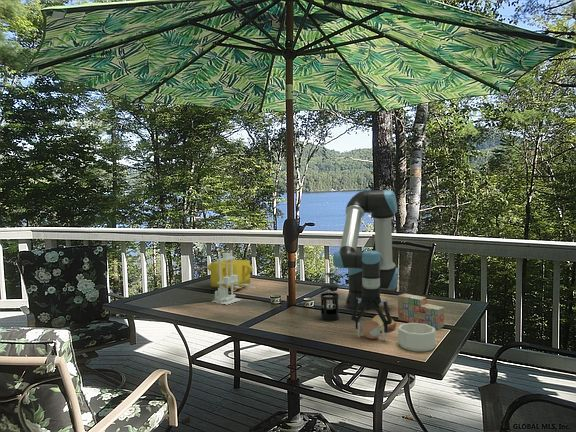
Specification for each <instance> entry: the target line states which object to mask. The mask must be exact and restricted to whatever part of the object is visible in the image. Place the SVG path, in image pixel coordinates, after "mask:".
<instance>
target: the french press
mask: <svg viewBox="0 0 576 432" xmlns="http://www.w3.org/2000/svg"><path fill="white" fill-rule="evenodd" d="M324 275H326V276H327V277H328V283H322V284H320V287H321V291H322V290H323V289H328V292H323V293H321V294H320V300H321V303H320V304H321V311H320V320H322V321H324V322H336V321H338V320H340V316H339V314H340V311H339V293H337V292H336V291H338V287H339V284H337V283H332V282H331V281H330V280H331V276H332V275H334V273H332V272H326V273H324ZM330 300H331V301H332V302H331V301H330ZM327 301H328V302H327Z"/></svg>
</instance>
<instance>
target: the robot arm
mask: <svg viewBox="0 0 576 432" xmlns="http://www.w3.org/2000/svg"><path fill="white" fill-rule="evenodd" d="M397 213H398V204H397V198H396V194H395V191H393V190H386V189H382V190H381V189H380V190H379V189H378V190H377V189H376V190H374V189H373V190H362V191H359V192H357V193H356V194H355V195H353V196H352V197H351V198H350V199H349V201H348V202H347V205H346V207H345V215H346V217H345V222H344V228H343V233H342V237H341V241H340V248H339V250H338V251H334V252H333V257H332V262H333V266H334V267H335V268H340V269H348V274H347V277H348V293H347V297H346V300H345V307H346V308H348V309H349V310H352V315H351V321H354V322H355V329H356V330H357V338H360V337H362V321H361V318H362V316H363V315H364V313H365V311H366V310H371V309H372V310H375V311H376V313H377V315H379V316H380V318H381V320H382V322H383V325H382V333H381V334H382V335H381V337H382V338H381V340H382V341H384V342H385V340H386V334H387V331H388V325H389V324H391V323H392V316H391V313H390V309H389V306H388V305H389V302H388V300H387V299H385V300H383V299H382V298H381V290H387V291H388V290H395V289H396V288H397V283H398V278H399V267H396V266H397V265H396V263H395V262H393V235H392V234H393V233H392V219H393V218H394V217H395V214H397ZM365 214H370V215H371V216H370V217H371V218H372V219H373V220H374V243H375V245H374V246H375V250H364V251H363V252H361V251H357V249H358V248H357V247H358V242H359V235H360V230H361V224H362V218H363V217H364V216H365ZM380 304H381V305H382V306H383V311H384V312H383V311H382V309H381V306H380ZM358 311H360V312H359V313H358ZM357 313H358V315H357ZM384 313H385V314H384ZM356 316H357V317H356ZM385 316H386V317H387V320H386V318H385Z"/></svg>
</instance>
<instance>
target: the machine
mask: <svg viewBox="0 0 576 432" xmlns="http://www.w3.org/2000/svg"><path fill="white" fill-rule="evenodd" d="M233 258H234V259H235V256H233V250H232V249H230V250H229V252H222V257H221V251H220V252H219V251H218V258H216V259H215V260H216V261H219V282H217V284H220V288H218V287H217V289H218V290H215V291H214V300H211V303H212V302H216V303H221V304H226V305H228V304H231V303H234V302H237V301H240V300H242V301H243V299H242V298H237V297H236V296H237V295H236V294H235V293H234V292H233V284H238V283H235V282H238V275H233V267H232V259H233ZM227 260H230V261H231V275H230V277H228V271H227ZM216 261H215V262H216ZM221 261H226V276H227V277H223V279H224V280H223V281H221ZM221 284H226V285H227V288H225V287H223V286H222V287H221ZM230 284H231V285H230ZM240 285H244V287H247V286H248V289H250V290H255V289H256V286H251V285H249V284H240ZM228 286H231V291H230V292H231V294H229V288H228ZM234 287H235V288H237V289H238V290H239V289H243V288H242V287H239V286H234ZM237 289H236V290H237ZM240 302H241V301H240ZM237 303H238V302H237ZM221 304H220V305H221ZM234 304H235V303H234ZM226 305H225V306H226ZM231 305H232V304H231ZM228 306H229V305H228Z"/></svg>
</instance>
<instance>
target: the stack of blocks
mask: <svg viewBox="0 0 576 432" xmlns="http://www.w3.org/2000/svg"><path fill="white" fill-rule="evenodd" d="M427 301H428V299H427V296H426V297H425V296H421V295H414V294H410V293H402V294H399V295H397V320H399V321H402V322H406V323H420V324H427V325H429V326H431V327H434V328H435V330H440V329H441V328H443V327H445V307H444V306H441V305H439V306H438V305H435V304H430V303H428V302H427Z"/></svg>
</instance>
